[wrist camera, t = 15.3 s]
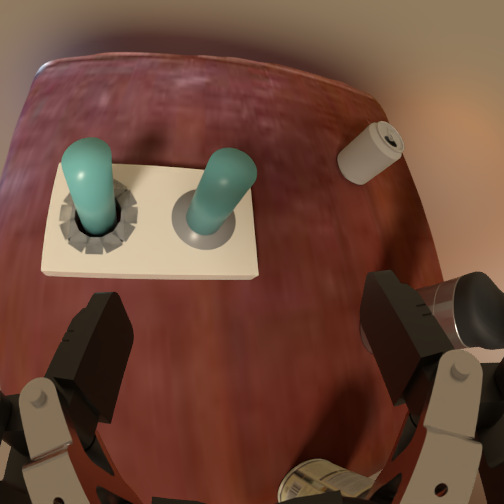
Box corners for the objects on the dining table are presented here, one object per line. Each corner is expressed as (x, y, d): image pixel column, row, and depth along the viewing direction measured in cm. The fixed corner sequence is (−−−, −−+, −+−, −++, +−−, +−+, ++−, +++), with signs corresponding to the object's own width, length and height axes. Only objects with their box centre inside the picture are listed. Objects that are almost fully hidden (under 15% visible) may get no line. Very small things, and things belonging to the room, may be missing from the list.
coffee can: (337, 500, 32) (399, 529, 20) (278, 521, 29) (333, 566, 16) (337, 449, 35) (407, 472, 23) (275, 468, 31) (337, 509, 19)
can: (334, 177, 50) (378, 141, 39) (334, 146, 53) (373, 110, 42) (366, 192, 52) (411, 161, 41) (364, 162, 55) (404, 130, 44)
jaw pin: (108, 200, 34) (101, 130, 22) (123, 229, 34) (119, 167, 22) (78, 215, 32) (55, 150, 20) (91, 246, 32) (70, 190, 20)
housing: (62, 172, 33) (59, 162, 30) (243, 183, 42) (249, 174, 40) (46, 275, 29) (40, 270, 26) (251, 279, 38) (259, 275, 36)
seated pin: (205, 204, 39) (239, 142, 27) (222, 233, 39) (266, 179, 26) (176, 219, 37) (199, 156, 25) (194, 248, 37) (226, 198, 24)
